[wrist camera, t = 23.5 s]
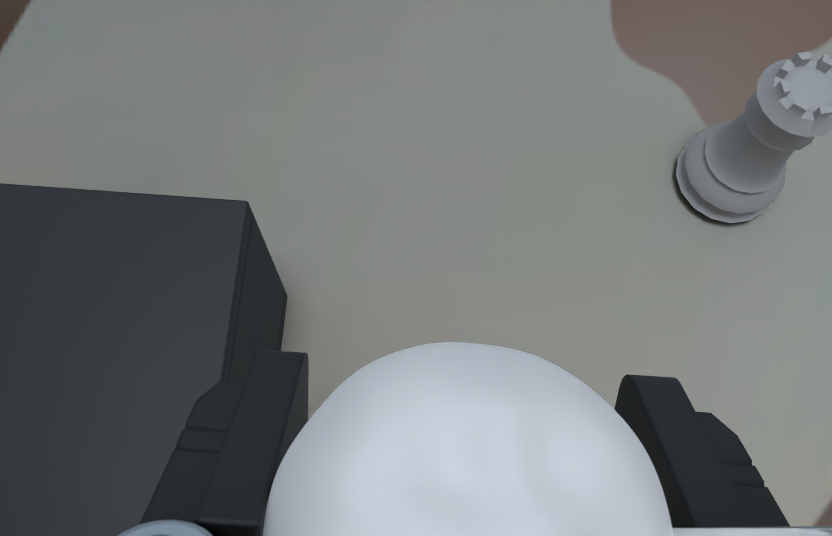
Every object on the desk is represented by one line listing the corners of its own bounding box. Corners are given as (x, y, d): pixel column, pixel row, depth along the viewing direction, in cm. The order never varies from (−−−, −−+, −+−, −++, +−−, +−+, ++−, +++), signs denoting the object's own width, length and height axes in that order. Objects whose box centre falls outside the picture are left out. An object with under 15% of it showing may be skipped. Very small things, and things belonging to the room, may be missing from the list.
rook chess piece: (776, 229, 34) (889, 141, 26) (676, 225, 34) (760, 136, 26) (764, 139, 35) (867, 31, 28) (667, 135, 35) (745, 25, 27)
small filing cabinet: (239, 688, 27) (165, 766, 18) (-120, 666, 27) (-377, 734, 18) (287, 294, 32) (248, 199, 23) (-17, 273, 32) (-178, 169, 23)
